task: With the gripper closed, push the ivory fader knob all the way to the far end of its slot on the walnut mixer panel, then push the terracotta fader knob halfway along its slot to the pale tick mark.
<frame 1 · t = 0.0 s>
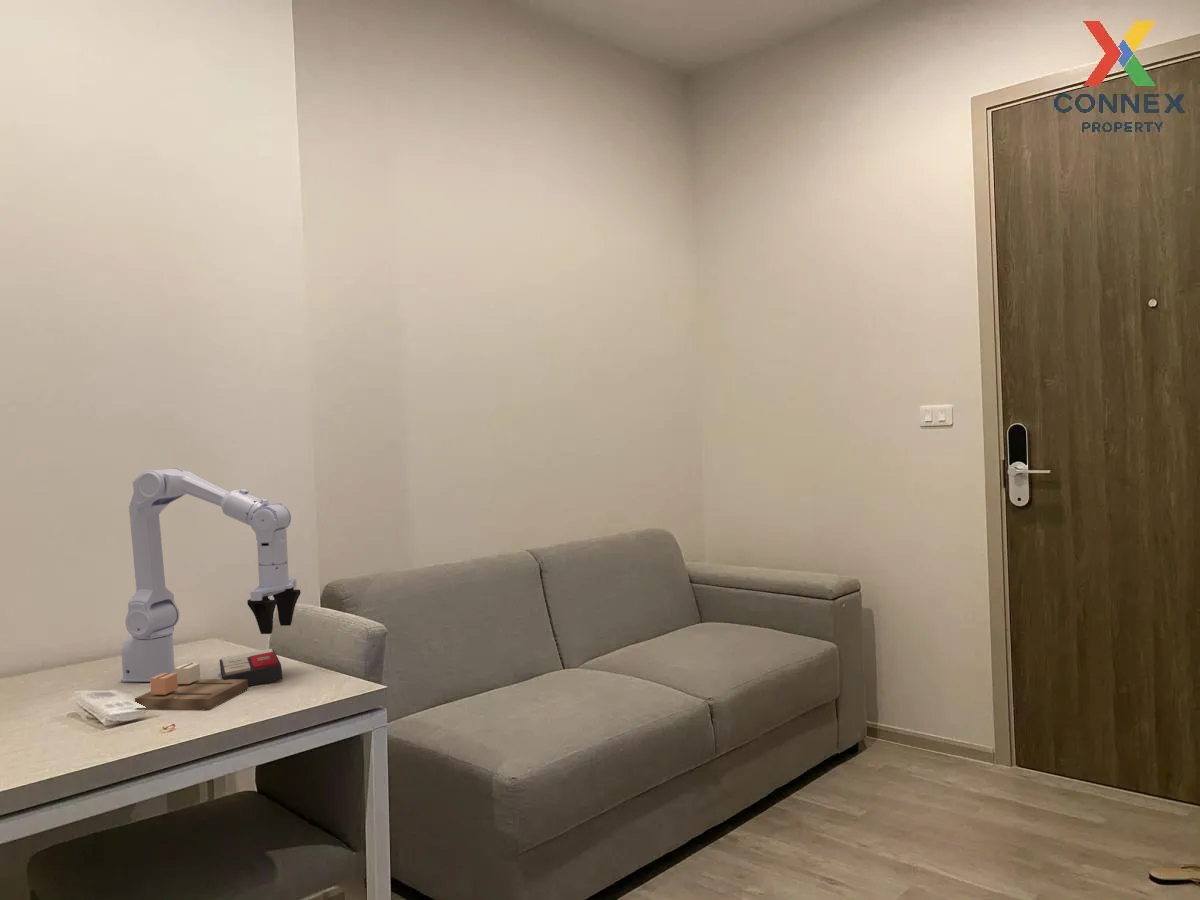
hand: (276, 629, 185), 10 cm above the table, tool pointing down, fingers open, 7 cm apart
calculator: (251, 678, 187), on the table, touching mixer panel
terracotta fader: (164, 683, 170), point 4 cm above the table, slide at 0.0 cm
ivory fader: (187, 673, 176), point 4 cm above the table, slide at 0.0 cm
mixer panel: (193, 698, 172), on the table
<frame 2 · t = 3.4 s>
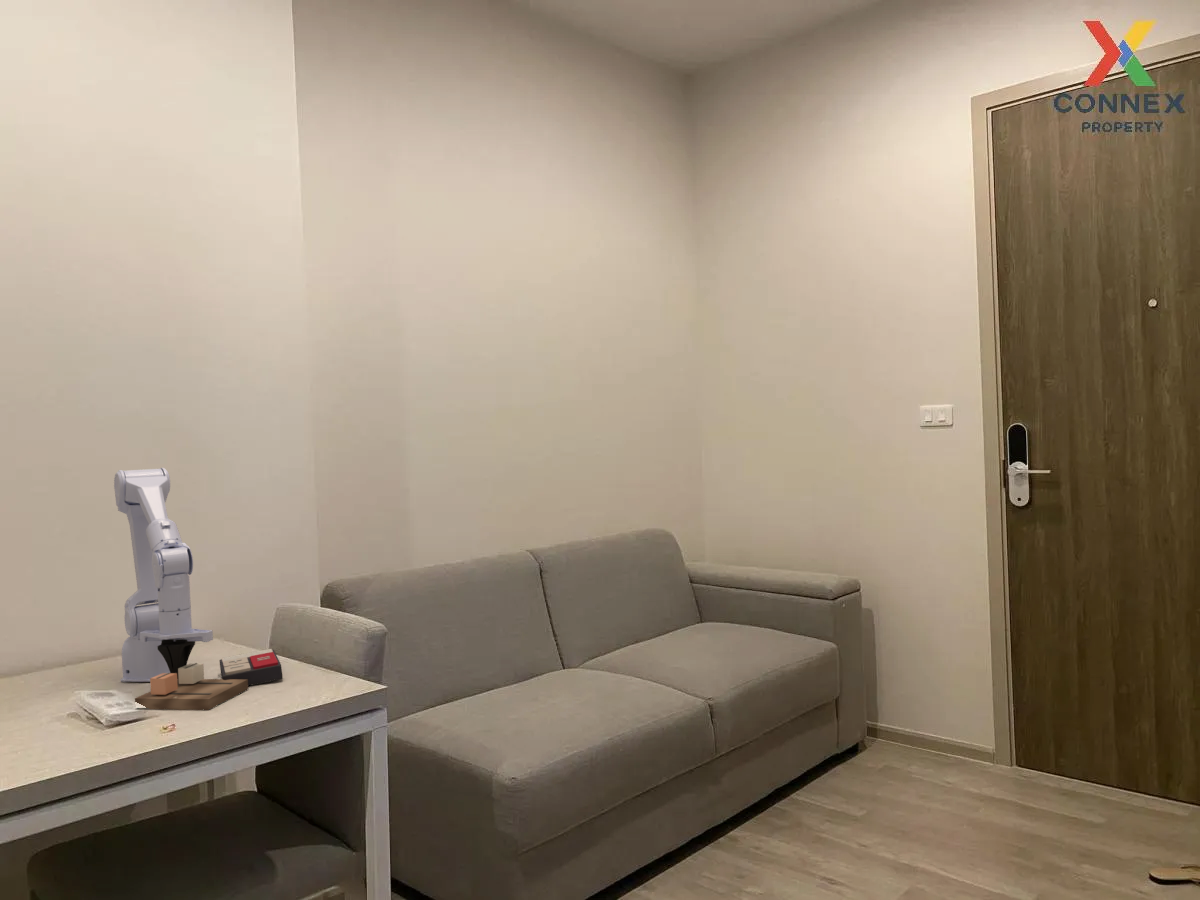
hand: (178, 678, 177), 3 cm above the table, tool pointing down, fingers closed
ivory fader: (191, 673, 176), point 4 cm above the table, slide at 0.9 cm, touching gripper
everything else where it was.
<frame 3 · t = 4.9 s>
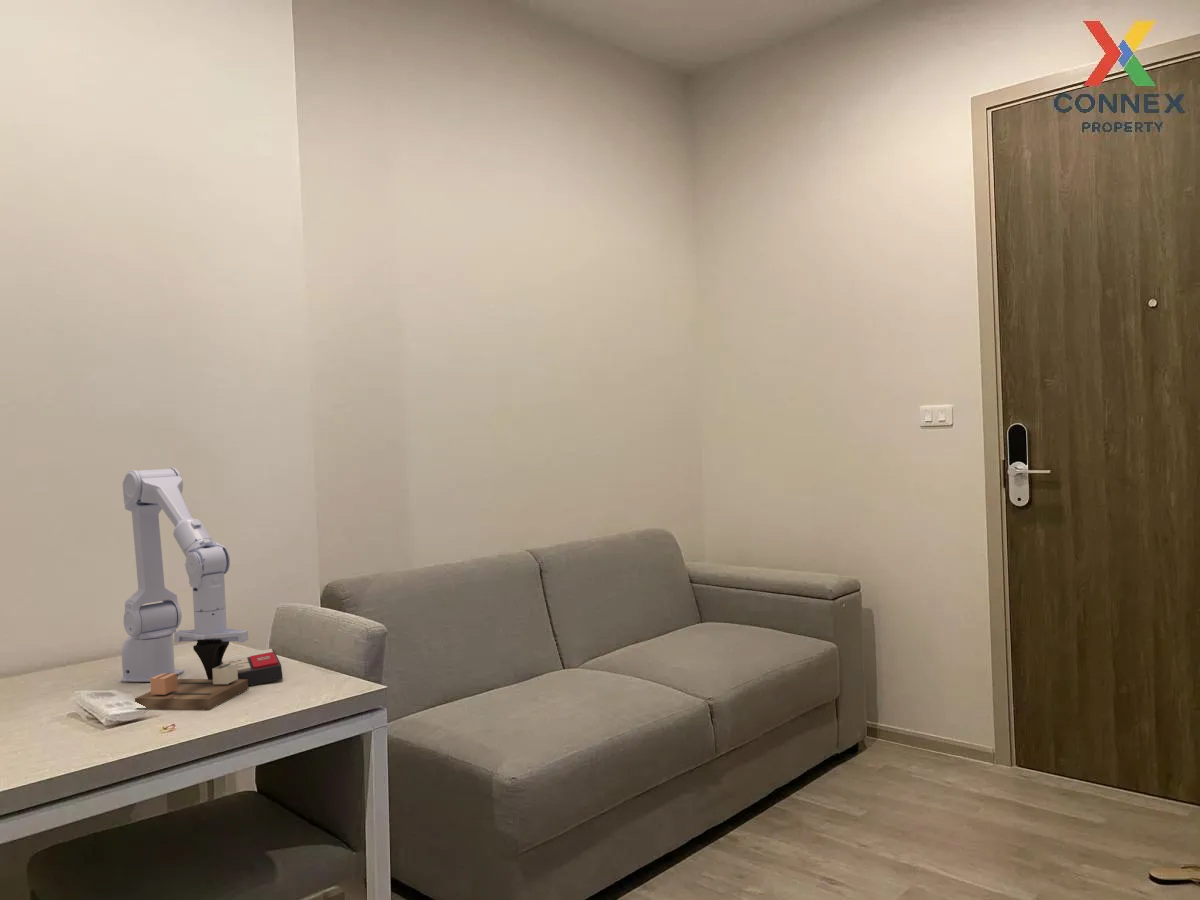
hand: (213, 678, 176), 3 cm above the table, tool pointing down, fingers closed
ivory fader: (225, 673, 175), point 4 cm above the table, slide at 8.1 cm, touching gripper
everything else where it was.
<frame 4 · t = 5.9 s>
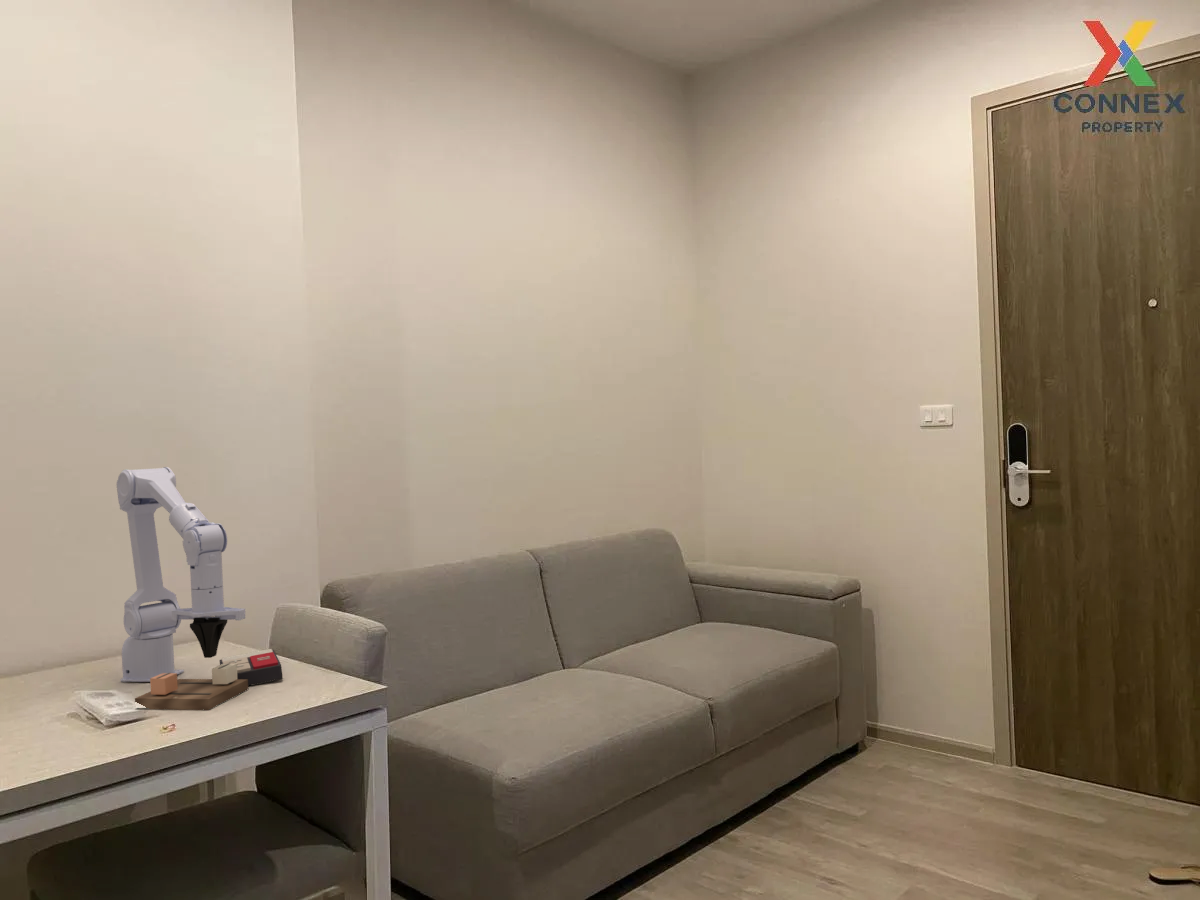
hand: (210, 656, 176), 7 cm above the table, tool pointing down, fingers closed
ivory fader: (224, 673, 175), point 4 cm above the table, slide at 8.1 cm
everything else where it was.
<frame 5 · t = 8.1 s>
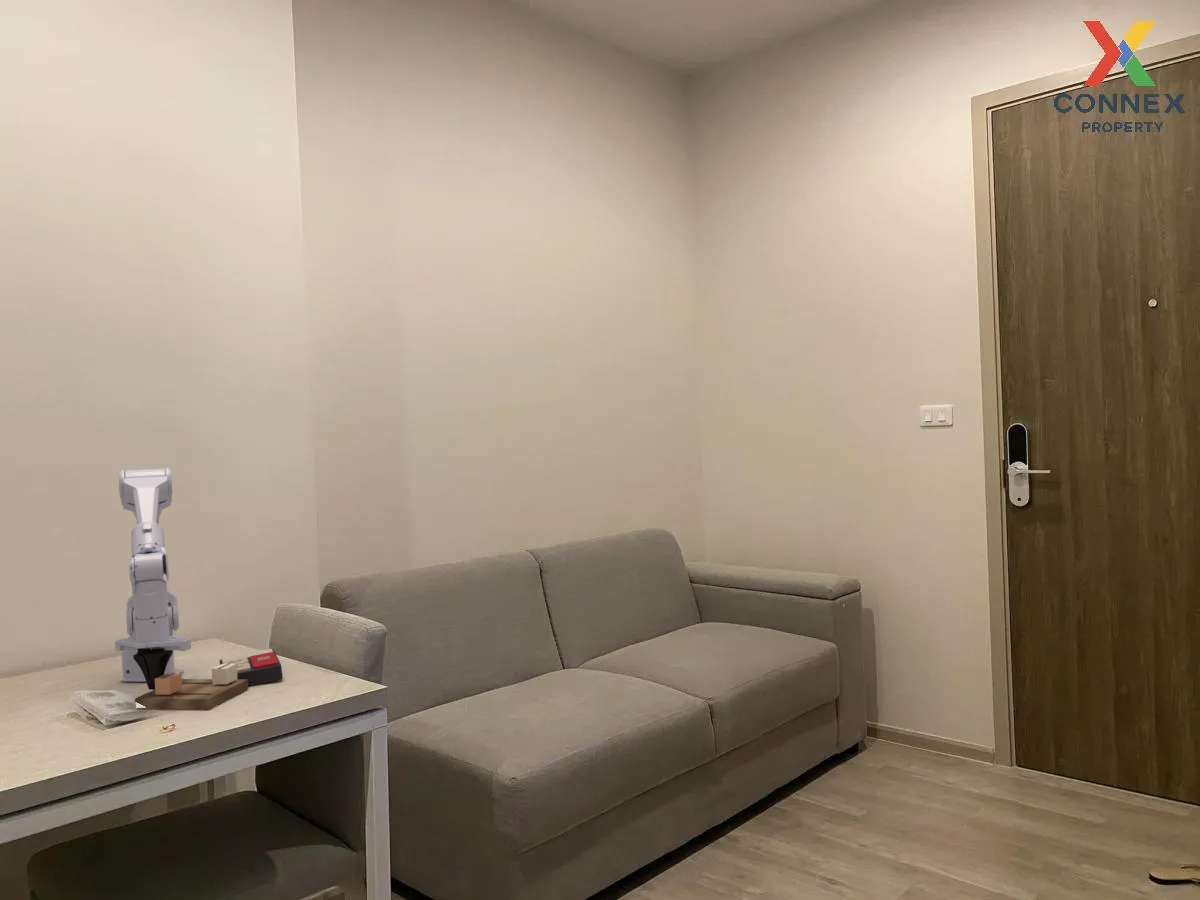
hand: (155, 688, 170), 3 cm above the table, tool pointing down, fingers closed
terracotta fader: (168, 683, 169), point 4 cm above the table, slide at 0.9 cm, touching gripper
everything else where it was.
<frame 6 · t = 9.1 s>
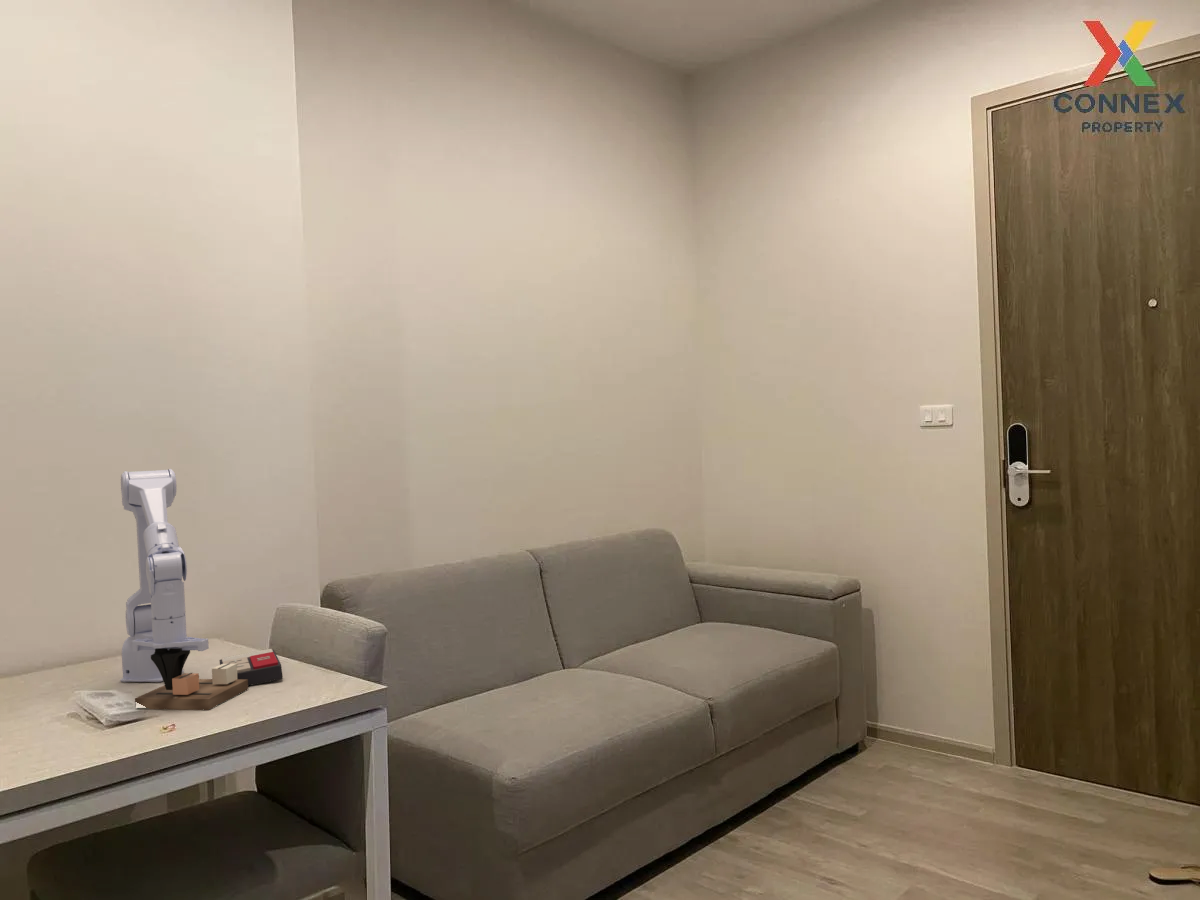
hand: (172, 688, 169), 3 cm above the table, tool pointing down, fingers closed
terracotta fader: (185, 683, 169), point 4 cm above the table, slide at 4.5 cm, touching gripper
everything else where it was.
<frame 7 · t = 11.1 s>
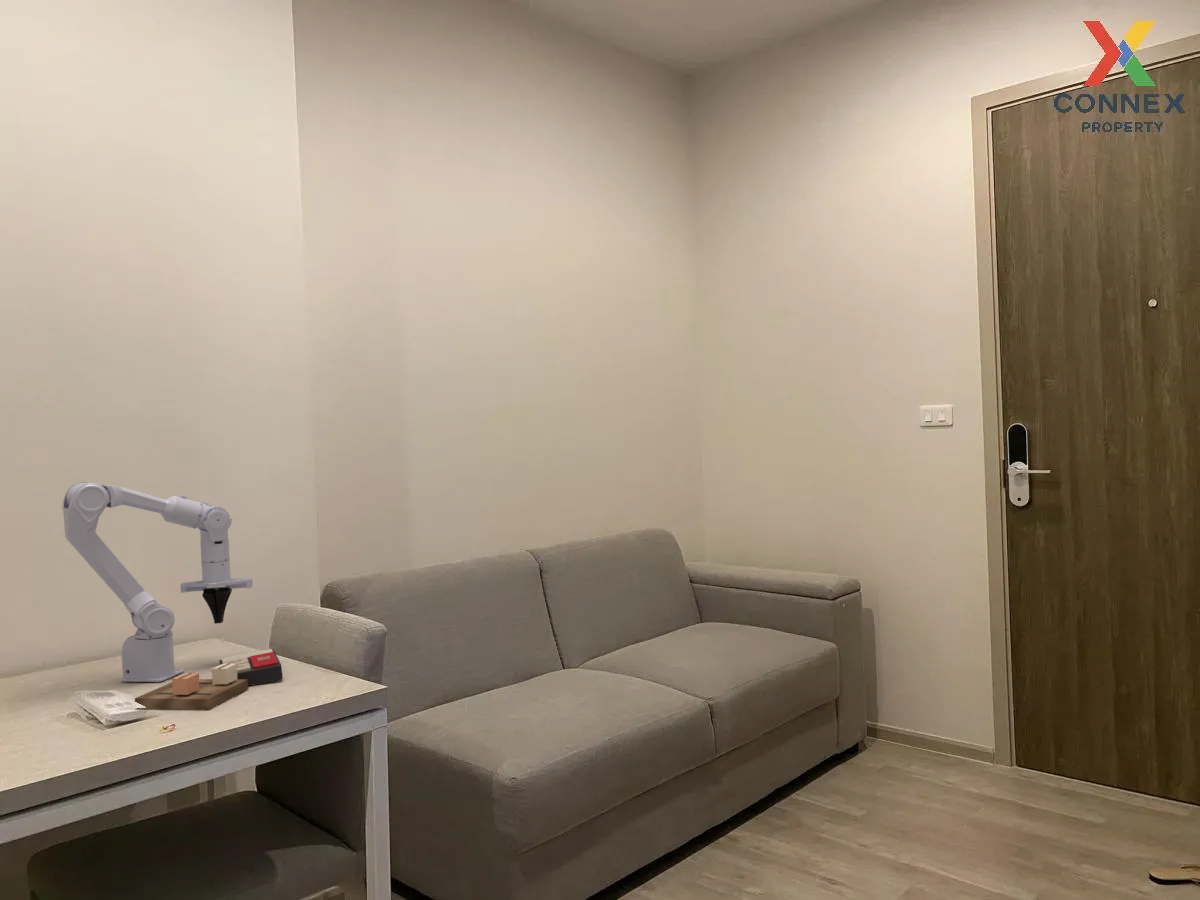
hand: (218, 622, 198), 9 cm above the table, tool pointing down, fingers closed
terracotta fader: (185, 683, 169), point 4 cm above the table, slide at 4.5 cm
everything else where it was.
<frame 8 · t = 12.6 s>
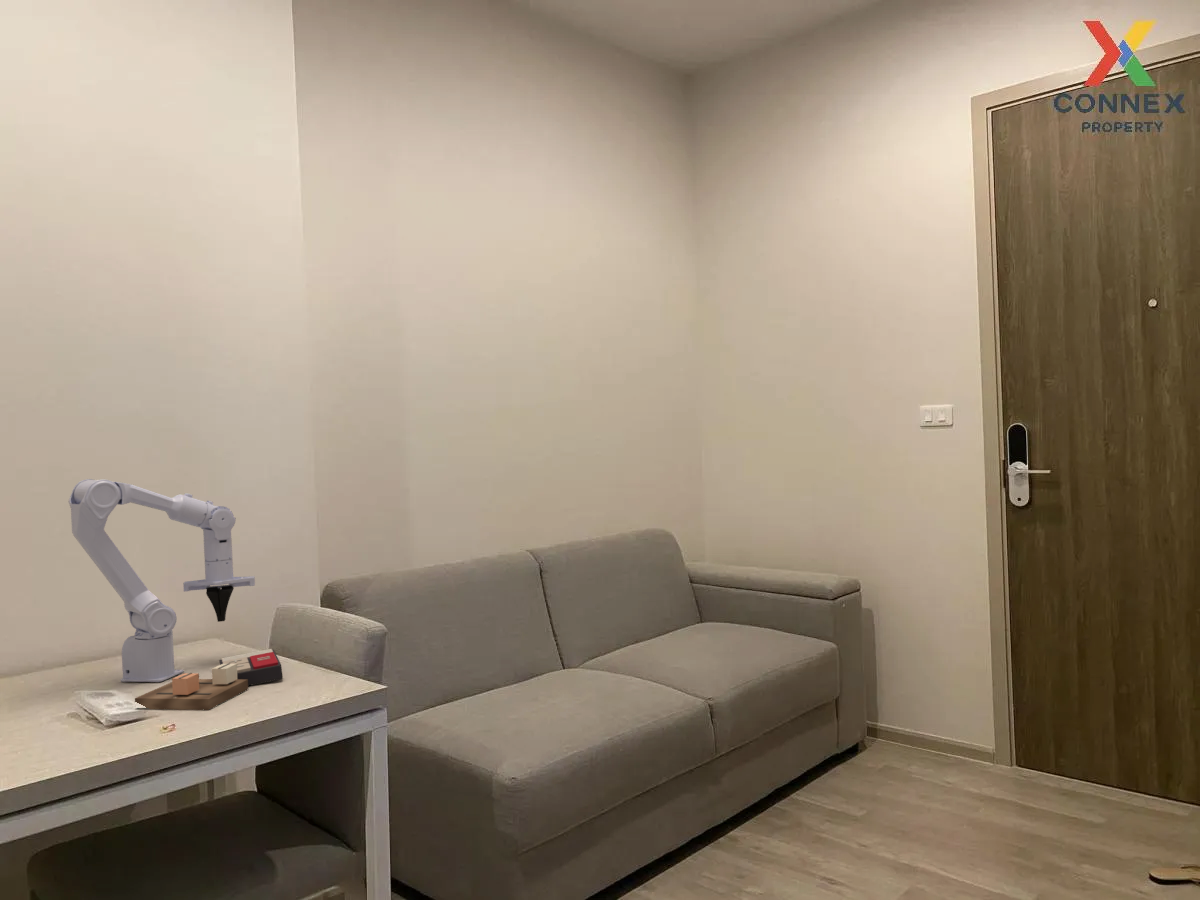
hand: (221, 620, 200), 9 cm above the table, tool pointing down, fingers closed
nothing on the table moved.
at the end: ivory fader slide at 8.1 cm; terracotta fader slide at 4.5 cm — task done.
